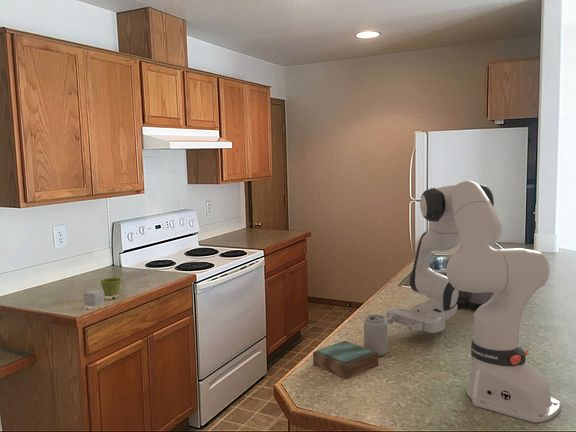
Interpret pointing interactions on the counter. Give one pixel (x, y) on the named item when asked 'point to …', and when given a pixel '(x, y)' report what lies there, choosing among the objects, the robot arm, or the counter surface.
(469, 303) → the juicer
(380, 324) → the can
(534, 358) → the counter surface
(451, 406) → the counter surface
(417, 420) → the counter surface
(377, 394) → the counter surface
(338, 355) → the plinth
